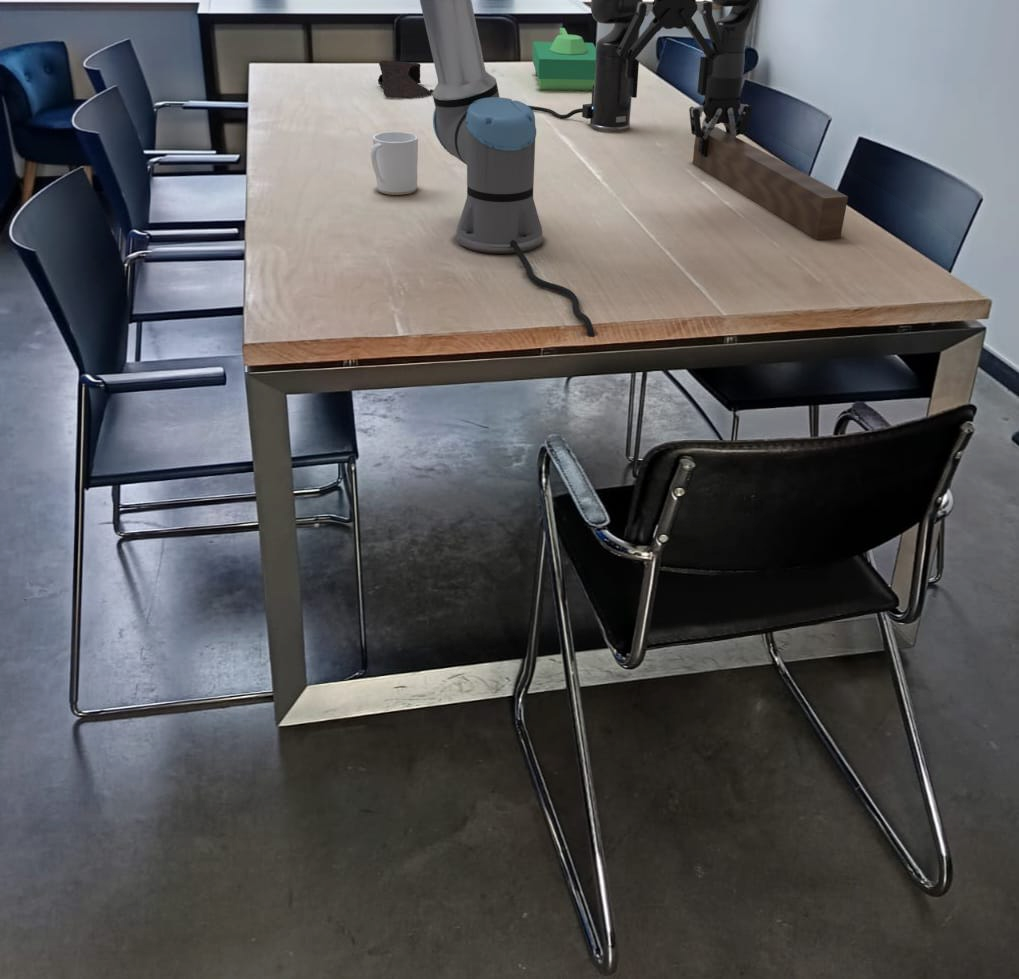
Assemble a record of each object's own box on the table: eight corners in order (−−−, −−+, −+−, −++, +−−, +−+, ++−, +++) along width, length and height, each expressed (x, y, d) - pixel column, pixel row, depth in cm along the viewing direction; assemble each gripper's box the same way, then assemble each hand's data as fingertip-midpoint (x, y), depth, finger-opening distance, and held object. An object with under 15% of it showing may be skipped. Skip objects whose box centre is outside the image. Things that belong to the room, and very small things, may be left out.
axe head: (443, 87, 294) (392, 77, 287) (436, 115, 299) (385, 106, 292) (421, 62, 307) (371, 52, 300) (414, 89, 311) (365, 80, 304)
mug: (396, 180, 226) (394, 129, 221) (428, 188, 221) (427, 137, 216) (358, 191, 219) (355, 139, 214) (389, 200, 214) (387, 147, 209)
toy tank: (590, 24, 327) (604, 45, 297) (588, 68, 333) (601, 92, 303) (531, 23, 326) (539, 44, 296) (530, 67, 332) (538, 91, 302)
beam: (840, 238, 201) (848, 196, 197) (816, 240, 200) (823, 198, 196) (712, 162, 244) (716, 126, 240) (692, 163, 243) (696, 127, 239)
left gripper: (735, -31, 203) (723, 88, 214) (604, -29, 199) (599, 92, 210) (750, -26, 196) (736, 97, 207) (615, -24, 193) (608, 101, 204)
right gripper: (747, 68, 233) (737, 149, 242) (686, 70, 230) (677, 152, 238) (764, 75, 227) (753, 158, 236) (701, 78, 223) (692, 161, 232)
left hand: (667, 95), depth 209 cm, fingers open, 13 cm apart
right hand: (715, 155), depth 237 cm, fingers closed on beam, 5 cm apart
